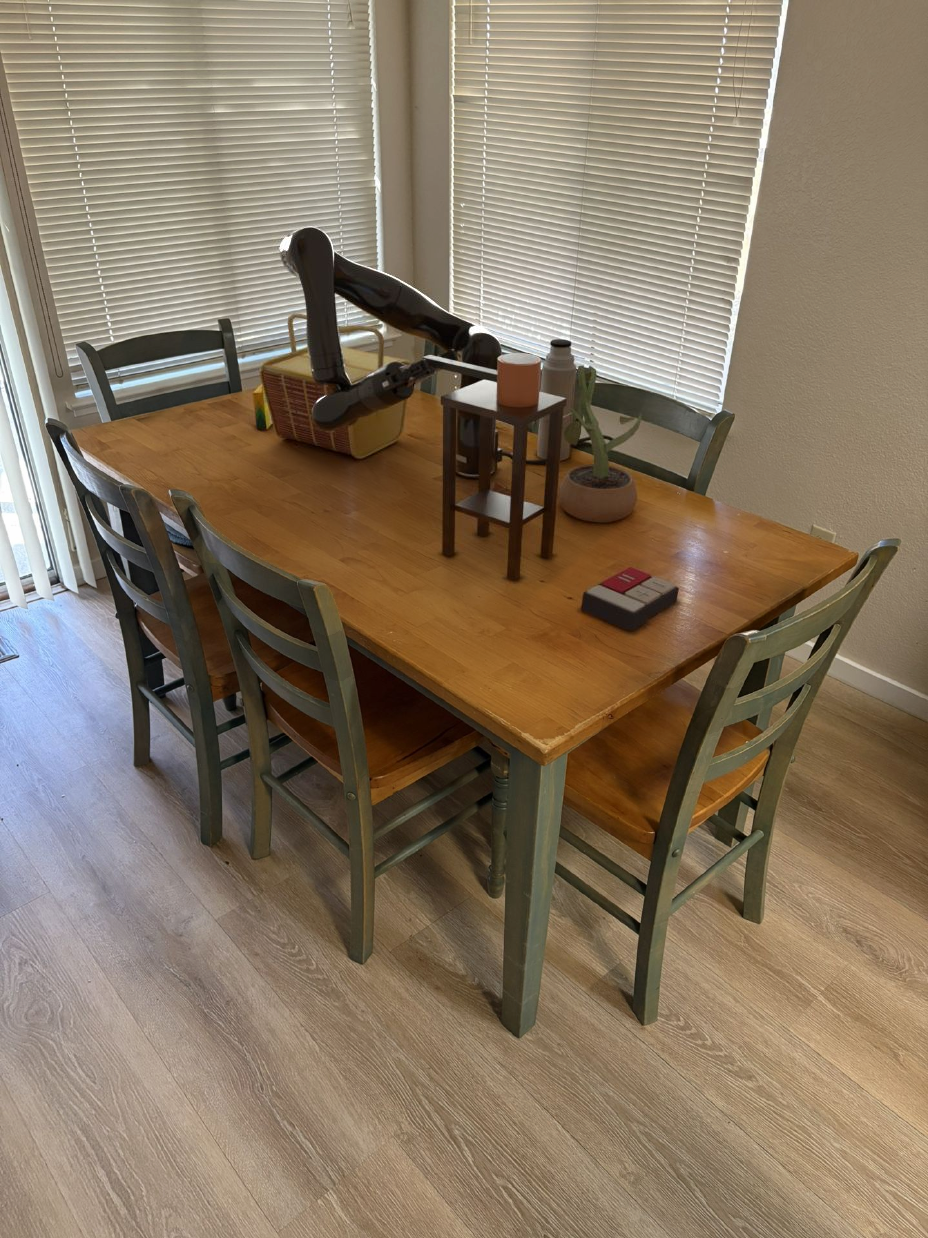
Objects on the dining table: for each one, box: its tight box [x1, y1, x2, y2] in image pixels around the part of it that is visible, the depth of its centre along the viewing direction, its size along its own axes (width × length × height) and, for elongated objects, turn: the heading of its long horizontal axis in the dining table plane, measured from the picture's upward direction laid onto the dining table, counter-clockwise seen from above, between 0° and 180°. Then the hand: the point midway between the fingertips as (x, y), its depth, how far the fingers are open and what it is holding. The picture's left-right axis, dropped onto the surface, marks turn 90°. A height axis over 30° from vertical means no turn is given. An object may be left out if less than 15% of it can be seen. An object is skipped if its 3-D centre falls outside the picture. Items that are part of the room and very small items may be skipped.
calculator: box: [580, 566, 680, 633], centre depth 168 cm, size 11×4×15 cm
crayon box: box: [252, 383, 273, 430], centre depth 243 cm, size 7×3×12 cm, turn 172°
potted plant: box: [545, 365, 642, 524], centre depth 198 cm, size 22×18×30 cm
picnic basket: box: [258, 312, 412, 460], centre depth 229 cm, size 29×26×30 cm
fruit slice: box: [490, 480, 511, 497], centre depth 203 cm, size 8×7×5 cm
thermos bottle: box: [536, 338, 577, 461], centre depth 224 cm, size 8×8×28 cm
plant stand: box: [440, 379, 567, 582], centre depth 176 cm, size 18×14×32 cm
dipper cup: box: [422, 352, 542, 408], centre depth 169 cm, size 25×8×8 cm, turn 53°
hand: (441, 359), depth 173 cm, fingers open, 8 cm apart
